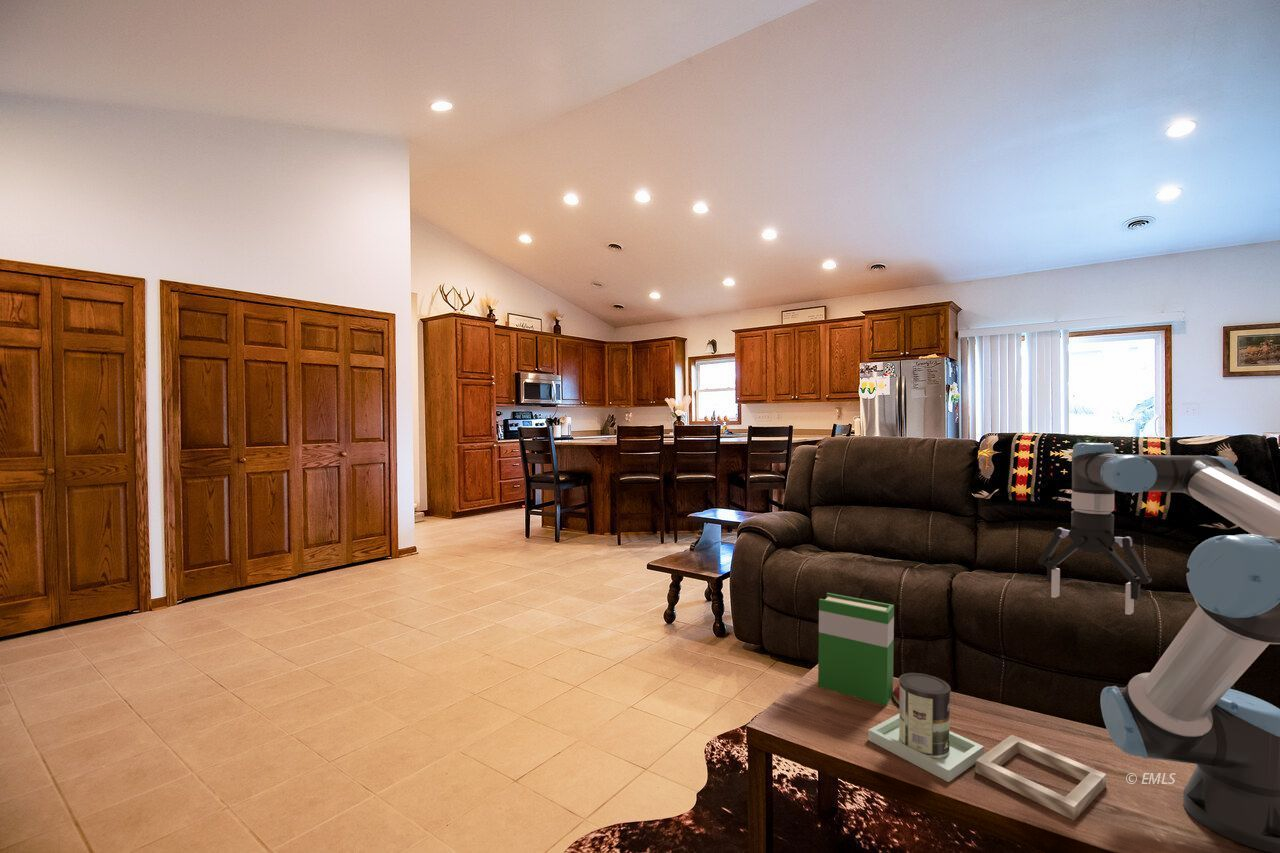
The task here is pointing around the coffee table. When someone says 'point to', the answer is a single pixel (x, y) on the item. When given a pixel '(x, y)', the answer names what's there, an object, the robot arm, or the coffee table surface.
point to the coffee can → (925, 714)
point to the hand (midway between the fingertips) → (1090, 604)
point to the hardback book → (856, 647)
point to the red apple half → (897, 694)
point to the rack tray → (945, 768)
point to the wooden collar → (1066, 806)
